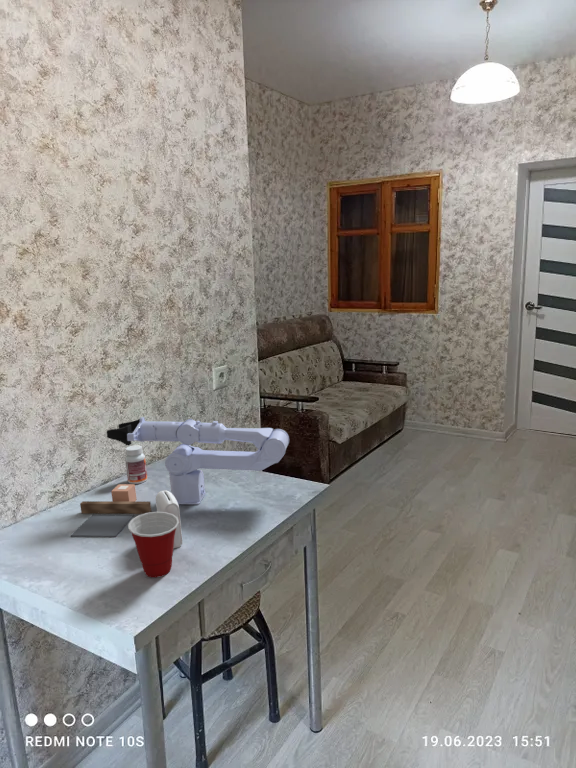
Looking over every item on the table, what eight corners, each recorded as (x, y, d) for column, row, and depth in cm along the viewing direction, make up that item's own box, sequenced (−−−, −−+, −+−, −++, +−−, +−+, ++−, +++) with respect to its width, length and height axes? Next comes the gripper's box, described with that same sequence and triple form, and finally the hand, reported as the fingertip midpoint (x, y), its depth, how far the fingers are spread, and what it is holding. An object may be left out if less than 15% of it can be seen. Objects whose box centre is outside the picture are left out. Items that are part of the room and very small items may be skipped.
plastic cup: (169, 587, 114) (163, 535, 111) (124, 581, 117) (117, 530, 114) (191, 560, 124) (187, 512, 121) (149, 555, 127) (144, 508, 124)
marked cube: (136, 500, 159) (134, 484, 158) (129, 507, 154) (127, 490, 153) (120, 500, 160) (118, 484, 159) (113, 507, 155) (111, 490, 154)
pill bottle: (151, 480, 174) (147, 447, 171) (133, 486, 170) (129, 452, 167) (141, 475, 178) (137, 443, 176) (124, 481, 174) (120, 448, 172)
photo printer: (157, 533, 138) (152, 488, 135) (174, 529, 139) (169, 484, 137) (167, 551, 129) (162, 503, 126) (184, 546, 130) (180, 499, 128)
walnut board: (151, 511, 151) (150, 501, 150) (149, 513, 149) (148, 503, 149) (84, 511, 153) (82, 501, 153) (81, 513, 152) (80, 503, 151)
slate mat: (133, 515, 149) (133, 514, 148) (115, 537, 137) (115, 535, 137) (92, 515, 150) (92, 514, 150) (70, 536, 138) (70, 535, 138)
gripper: (166, 412, 161) (123, 412, 162) (148, 423, 146) (100, 423, 148) (167, 435, 162) (124, 434, 164) (149, 448, 148) (102, 447, 149)
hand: (113, 430), depth 156 cm, fingers open, 7 cm apart
